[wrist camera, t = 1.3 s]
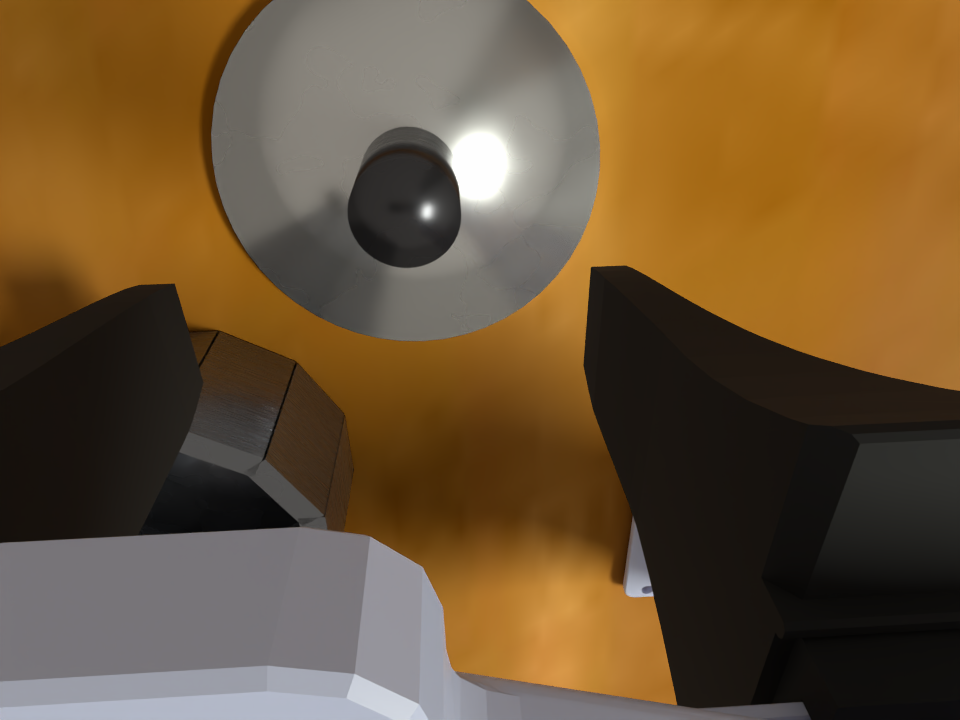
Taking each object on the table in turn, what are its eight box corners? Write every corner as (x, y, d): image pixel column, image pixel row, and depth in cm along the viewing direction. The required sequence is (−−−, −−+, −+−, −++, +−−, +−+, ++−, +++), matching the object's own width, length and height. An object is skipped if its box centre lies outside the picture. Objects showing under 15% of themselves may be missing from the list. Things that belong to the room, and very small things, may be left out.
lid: (609, -53, 17) (651, -50, 14) (582, 322, 23) (606, 388, 20) (175, -43, 17) (107, -38, 13) (260, 335, 23) (228, 405, 19)
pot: (323, 279, 21) (294, 364, 17) (369, 565, 28) (356, 675, 24) (1, 292, 21) (-110, 382, 17) (129, 578, 28) (74, 692, 24)
